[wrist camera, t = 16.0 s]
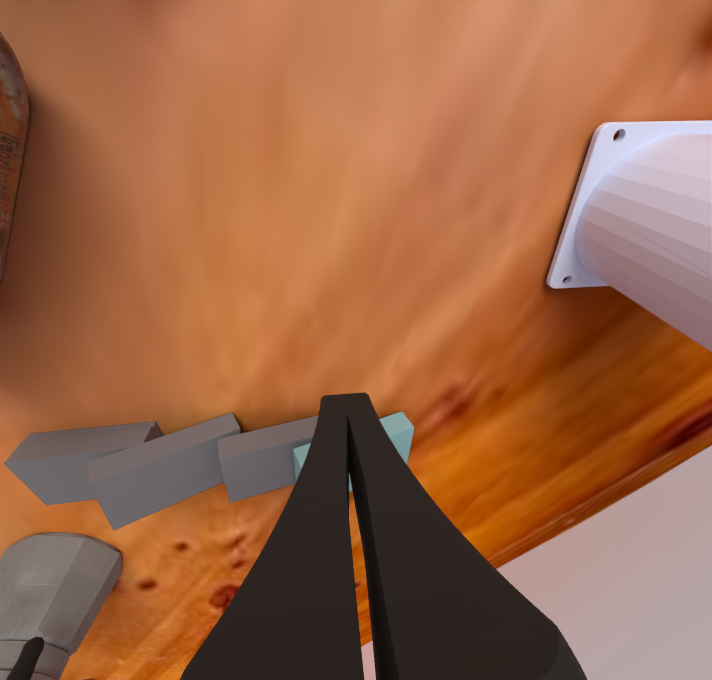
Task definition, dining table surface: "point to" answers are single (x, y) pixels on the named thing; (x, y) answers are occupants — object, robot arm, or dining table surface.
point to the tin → (10, 138)
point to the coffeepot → (51, 600)
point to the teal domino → (394, 427)
